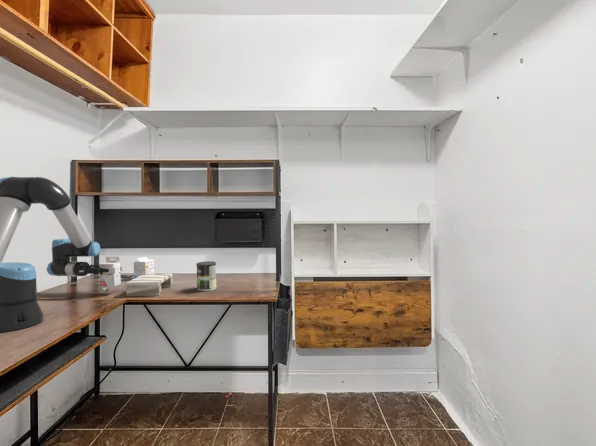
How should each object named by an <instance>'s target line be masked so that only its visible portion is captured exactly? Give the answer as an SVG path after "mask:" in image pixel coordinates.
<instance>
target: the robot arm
mask: <svg viewBox="0 0 596 446" xmlns="http://www.w3.org/2000/svg"><path fill="white" fill-rule="evenodd" d="M71 203H72V201H71V199H70V196H69V195H68V194H67V192H66V191H65V190H64V189H63V188H62V187H61V186H60V185H59V184H57V183H55V182H54V181H53V180H51V179H49V178H46V177H42V176H34V177H31V176H28V177H27V176H26V177H24V176H22V177H21V176H20V177H17V176H9V177H2V178H0V332H3V333H4V332H12V331H18V330H22V329H27V328H31V327H33V326H36V325H38V324H40V323H43V322H44V320H45V315H44V313H43V311H42V309H41V307H40V305H39V303H38V293H37V291H38V290H37V273H36V267H35V266H34V265H33V264H32V263H28V262H19V261H18V262H16V261H15V262H3V260H4V257H5V256H6V253H7V251H8V248H9V245H10V244H11V241H12V239H13V237H14V234H15V233H16V229H17V227H18V225H19V223H20V220H21V218H22V216H23V213H27V212H29V210H30V208H31V206H32V204H33V205H35V204H41V205H44V206H45V207H46V208H47V210H49V211H51V212H52V213H53V215H54V217H56V219H57V221H58V223H59V224H60V225H61V227H62V229H63V231H64V232H65V233H66V235H67V237H68V238H57V239H56V238H55V239H52V241H51V256H52V257H51V259H52V260H51V262H49V263H48V264H47V267H46V272H47V274H48V275H50V276H54V277H55V276H56V277H71V278H75V277H86V276H87V275H88V274H90V275H97V274H99V276H100V275H102V274H103V273H116V268H103V269H102V268H99V264H90V263H89V262H87V261H71V258H72V257H73V258H75V257H76V258H77V257H79V258H81V257H85V258H86V257H89V258H90V257H97V256H98V255H99V253H100V252H101V245H100V244H99V243H98V241H92V240H91V238H90V237H89V235H88V233H87V231H86V230H85V228H84V226H83V224H82V223H81V221H80V219H79V217H78V216H77V214H76V211H74V208H73V207H72V205H71ZM124 269H125V268H124V265H120V272H124V271H125V270H124ZM102 272H103V273H102Z"/></svg>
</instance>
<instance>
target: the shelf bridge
mask: <svg viewBox="0 0 596 446" xmlns="http://www.w3.org/2000/svg"><path fill="white" fill-rule="evenodd" d="M173 281H174V280H173V273H154V274H143V275H141V276H139V277H136V278H134V277H133V278H132V279H130V280H128V281H126V282H125V294H126V297H156V296H157V297H158V296H159V297H160V296H161V295H162V288H172V287H173V286H174V285H173V284H174V283H173Z"/></svg>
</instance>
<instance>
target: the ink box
mask: <svg viewBox="0 0 596 446" xmlns="http://www.w3.org/2000/svg"><path fill="white" fill-rule="evenodd" d="M143 274H155V259H149V258H148V257H147V256H143V257H138V258H137V260H133V279H134V278H136V277H139V276H141V275H143Z"/></svg>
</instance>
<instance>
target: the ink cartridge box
mask: <svg viewBox="0 0 596 446" xmlns="http://www.w3.org/2000/svg"><path fill="white" fill-rule="evenodd" d="M98 265H99V268H102V269H103V268H116V273H103V272H102V273H103V274H102V275H100V274H99V286H100V287H116V286H119V285H121V284H122V281H121V279H122V277H121V271H120V266H121V262H120V257H119V256H105V262H100V263H99V264H98Z"/></svg>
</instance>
